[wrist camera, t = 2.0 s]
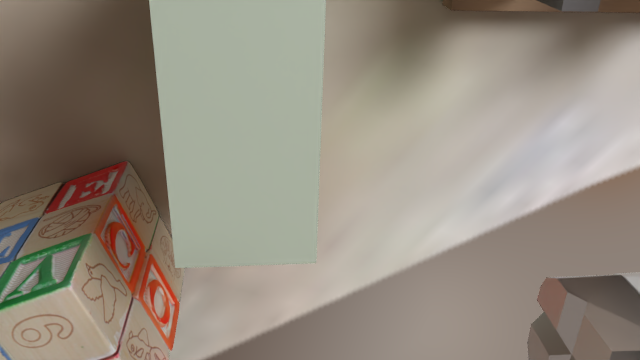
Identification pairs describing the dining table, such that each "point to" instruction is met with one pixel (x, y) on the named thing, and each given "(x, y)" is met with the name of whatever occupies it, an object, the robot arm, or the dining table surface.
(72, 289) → the stack of blocks
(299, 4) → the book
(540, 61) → the dining table surface
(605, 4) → the book rack
